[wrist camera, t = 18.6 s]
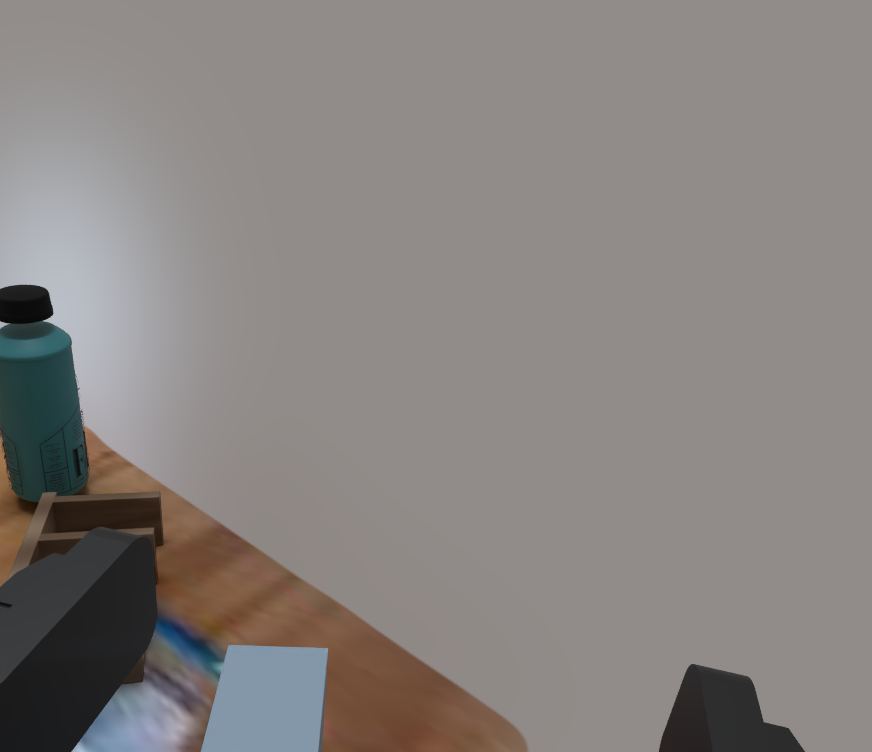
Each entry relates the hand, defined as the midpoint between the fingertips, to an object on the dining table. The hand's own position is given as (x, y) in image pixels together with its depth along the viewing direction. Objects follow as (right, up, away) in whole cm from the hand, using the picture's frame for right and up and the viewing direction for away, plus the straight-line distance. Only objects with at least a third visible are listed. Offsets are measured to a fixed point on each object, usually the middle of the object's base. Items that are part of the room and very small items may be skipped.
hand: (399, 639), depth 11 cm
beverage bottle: (-35, -7, +55) cm, 66 cm away
